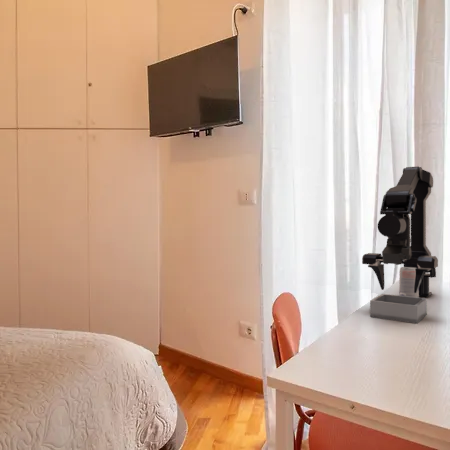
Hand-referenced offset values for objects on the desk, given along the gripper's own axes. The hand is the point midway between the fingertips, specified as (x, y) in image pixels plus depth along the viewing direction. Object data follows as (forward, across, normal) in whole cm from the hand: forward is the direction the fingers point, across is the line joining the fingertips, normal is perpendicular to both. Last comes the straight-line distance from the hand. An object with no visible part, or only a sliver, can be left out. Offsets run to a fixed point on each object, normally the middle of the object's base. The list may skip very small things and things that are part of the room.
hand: (398, 291), depth 113 cm
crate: (+7, 0, 0) cm, 7 cm away
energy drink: (+7, 0, +12) cm, 14 cm away
